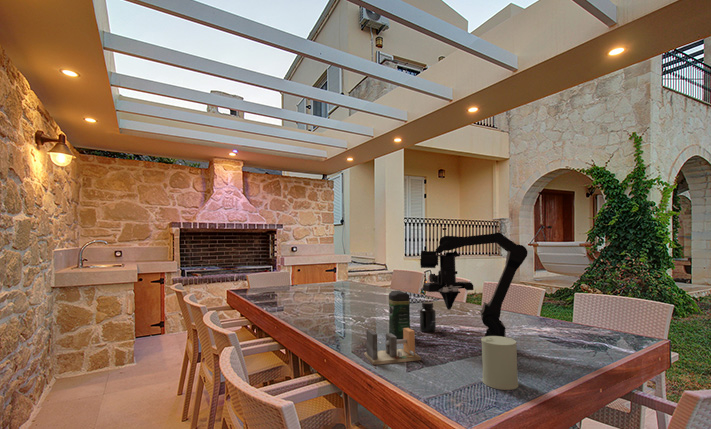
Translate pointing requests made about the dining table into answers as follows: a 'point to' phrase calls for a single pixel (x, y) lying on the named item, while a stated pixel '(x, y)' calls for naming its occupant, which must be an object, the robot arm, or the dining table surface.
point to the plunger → (407, 341)
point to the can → (499, 362)
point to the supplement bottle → (427, 317)
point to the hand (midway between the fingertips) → (448, 309)
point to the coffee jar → (399, 313)
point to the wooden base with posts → (391, 350)
